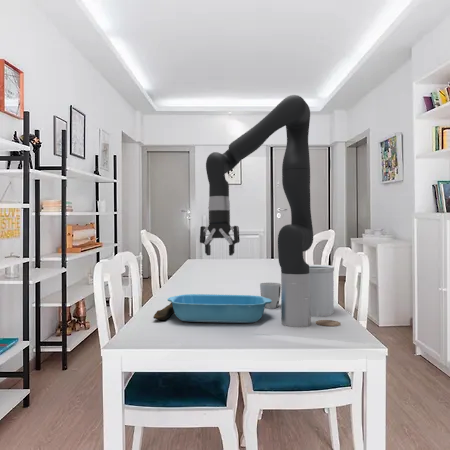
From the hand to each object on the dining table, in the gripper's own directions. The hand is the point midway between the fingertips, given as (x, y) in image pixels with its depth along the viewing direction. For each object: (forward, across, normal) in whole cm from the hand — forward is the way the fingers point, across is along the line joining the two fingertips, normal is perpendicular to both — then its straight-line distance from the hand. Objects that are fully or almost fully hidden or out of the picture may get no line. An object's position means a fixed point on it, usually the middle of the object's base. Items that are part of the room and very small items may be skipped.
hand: (219, 255), depth 149 cm
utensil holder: (+22, -30, -19) cm, 42 cm away
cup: (+22, -13, -21) cm, 33 cm away
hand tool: (+21, +26, -2) cm, 33 cm away
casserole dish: (+22, 0, -1) cm, 23 cm away
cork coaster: (+22, -37, -3) cm, 43 cm away
